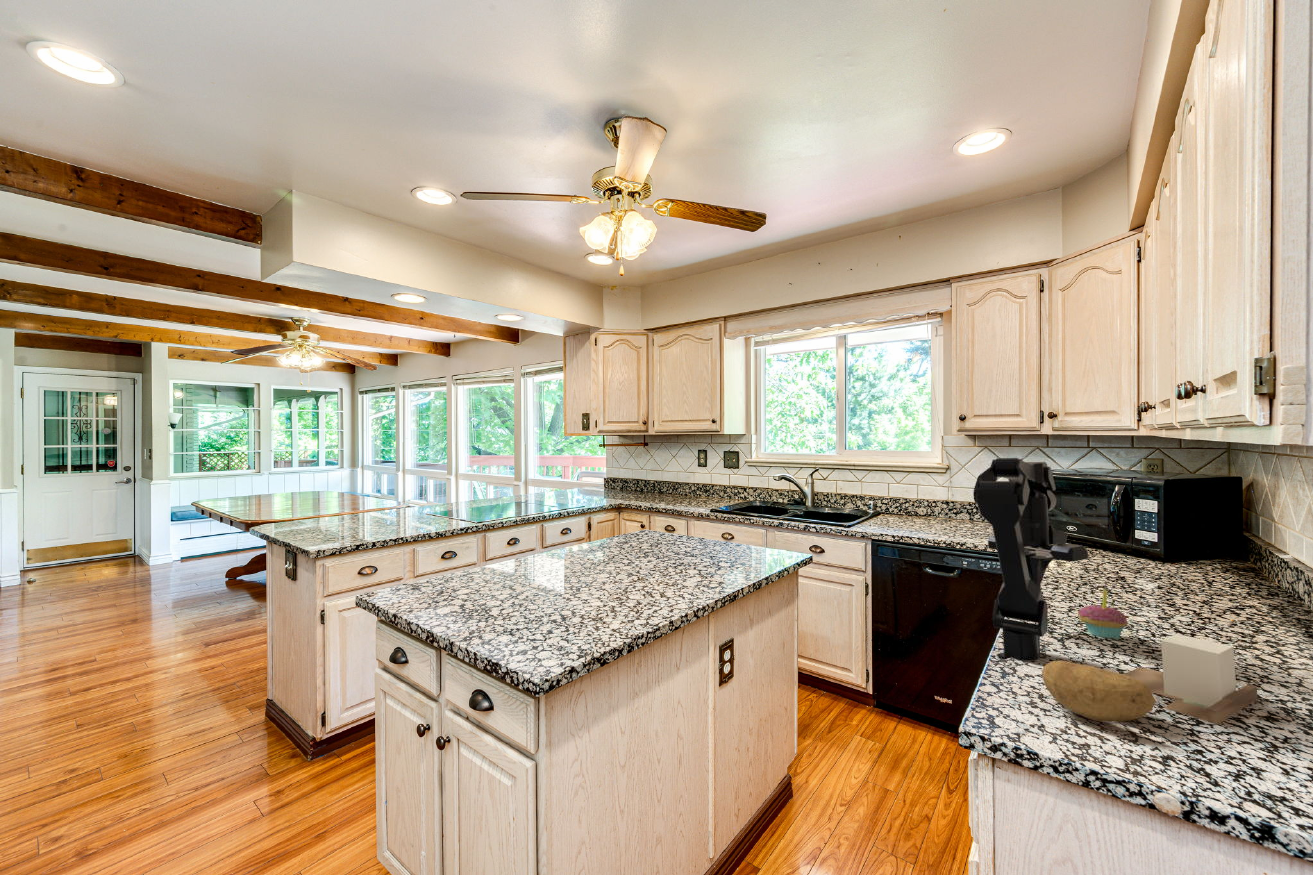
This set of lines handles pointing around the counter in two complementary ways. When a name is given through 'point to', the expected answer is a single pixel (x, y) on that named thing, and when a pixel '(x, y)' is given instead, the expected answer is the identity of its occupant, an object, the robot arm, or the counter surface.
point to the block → (1197, 669)
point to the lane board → (1209, 714)
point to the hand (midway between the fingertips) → (1036, 585)
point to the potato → (1097, 692)
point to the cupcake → (1103, 619)
